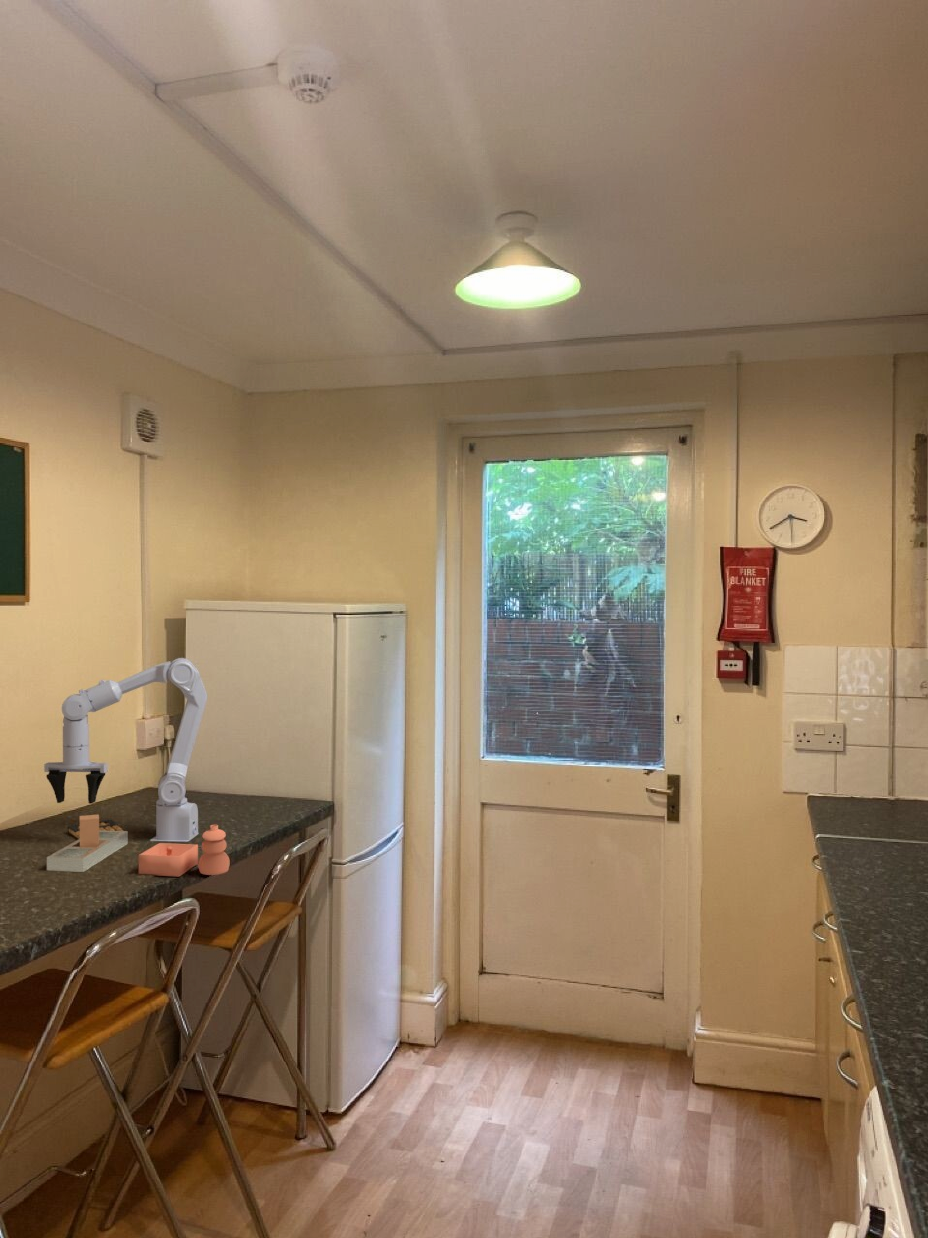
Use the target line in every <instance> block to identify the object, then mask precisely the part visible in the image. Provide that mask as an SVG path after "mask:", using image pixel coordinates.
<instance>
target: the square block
mask: <svg viewBox="0 0 928 1238" xmlns="http://www.w3.org/2000/svg"><path fill="white" fill-rule="evenodd" d="M99 821H100V815H99V814H90V815H88V814H87V815H79V825H80V847H97V846H99Z"/></svg>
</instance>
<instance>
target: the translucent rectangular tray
mask: <svg viewBox="0 0 928 1238" xmlns="http://www.w3.org/2000/svg"><path fill="white" fill-rule="evenodd" d="M128 833H129V832H128V831H127V830H123V831H99V846H97V847H80V839H77V840H75V841H73V842H72V843H70V844H68V845H66V846H64V847H62V848H60V849H59V850H57V851H56V852H53V853H52V854H50V855H48V856H46V871H47V872H49V871H51V872H68V873H69V872H72V873H73V872H74V873H75V872H76V873H83V872H86V871H87V870H89V869H90V868H92V867H93V866H95V865H96V864H98V863H100V862H101V861H103V860H105V859H106V858H107V857H109V856H110V855H113V854H114V853H116V852H117V851H119V850H120V849H122V848H123V847H125V846H126V845H128V843H129V842H128V841H129V839H128Z"/></svg>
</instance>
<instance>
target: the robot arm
mask: <svg viewBox="0 0 928 1238" xmlns="http://www.w3.org/2000/svg"><path fill="white" fill-rule="evenodd" d="M201 676H202V675H200V672H199V670H198V668H197V667H196V666H195V665H194V664H193V662H192V661H191V660H189V659H188V658H185V657H178V658H176V659H174V660H172V661H170V660H169V661H166V662H165V661H164V662H162V663H158V664H156V665H153V666H150V667H148V668H146V669H144V670H141V671H139V672H138V673H136V674H135V673H134V674H133V675H131V676H128V677H126V678H124V679H122V680H119V681H114V680H112V679H108V680H105V679H101V680H99V681H98V684H96V685H93V686H91V687H88V688H86V689H84V688H81V689H79V690H78V692H79V693H73V694H71V695H69V696H67V697H66V698H65V700H64V701H63V703H62V705H61V712H62V715H63V719H62V724H63V726H62V761H59V762H58V761H56V762H47V763H44V765H43V766H44V768H43V770H44V773H47V774H46V779H47V781H48V782H49V783H50V785H51V788H52V789H53V793H54V795H55V800H56V803H57V804H61V803H63V802H65V795H66V794H65V791H66V790H65V785H66V777H67V773H69V772H70V773H88V774H85V779H86V784H87V802H88V804H89V805H90V804H94V803H96V799H97V796H98V792H99V788H100V787H101V783H102V781H103V780H104V777H105V776H106V773H107V772H108V769H109V768H108V767H109V766H108V765H109V764H108V763H107V762H106V763H104V762H92V761H90V726H89V717H88V716H89V715H88V714H89V712H90V713H96V712H97V711H100V710H102V709H105V708H107V707H110V706H112V705H115V704H116V703H117V704H118V703H119V702H120V701H121V698H122V697H123V695H124V694H127V693H129V692H131V691H132V692H133V691H134V690H138V689H140V688H142V687H144V686H147V685H150V684H153V683H162V684H163V683H165V684H168V680H169V681H170V682H171V683H172V684H173V685H174V686H176V687H177V688H178V689H180V691H181V692H182V694H183V696H184V697H185V699H186V702H185V706H184V709H183V713H182V716H181V720H180V723H179V727H178V730H177V734H176V737H175V741H174V744H173V748H172V751H171V755H170V757H169V761H168V764H167V767H166V770H165V772H164V773H163V775H162V776H161V777H160V778H159V780H158V784H157V785H158V786H157V787H158V791H157V797H158V799H157V800H156V802H155V803H156V805H155V807H156V808H155V809H156V810H155V811H156V812H155V815H156V817H155V819H156V821H155V823H156V824H155V826H156V827H155V828H156V829H155V830H156V831H155V833H156V835H155V836H154V837H152V838H151V839H149V841H150V842H178V843H179V842H180V843H181V842H182V843H183V842H185V843H186V842H190V841H191V840H192V839H194V838H195V837H196V836H198V835H199V834H200V832H199V809H198V804H196V803H195V802H194V803H193V802H188V798H187V797H185V795H186V786H185V785H186V783H185V782H186V777H187V773H188V772H187V771H188V768H189V767H188V766H189V765H190V760H191V757H192V753H193V750H194V747H195V743H196V740H197V736H198V733H199V729H200V725H201V722H202V718H203V715H204V712H205V708H206V704H207V701H208V693H207V690H206V688H205V685H204V682H203V679H202V677H201Z"/></svg>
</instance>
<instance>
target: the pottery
mask: <svg viewBox="0 0 928 1238" xmlns="http://www.w3.org/2000/svg"><path fill="white" fill-rule="evenodd" d="M209 828H210V829H207V830H206V831H205V832H203V833H202V839H203V841H202V843H201V850H202V852H204V853H203V854H201V856H200V858H199V844H193V843H192V844H191V843H190V844H189V843H170V842H169V843H167V842H159V843H156V844H155V845H153V846H151V847H150V848H148V849H146V850H144V851H143V852H142V853H139V854H138V875H154V876H160V877H162V876H163V877H181V876H182V875H184V874H185V873H186V872H188V871H189V870H191V869H192V868H193V867H195V866H198V869H199V873H200V874H202V875H206V876H217V875H223V874H225V873H227V872H229V867H230V864H231V863H230V862H231V860H230V857H229V855H228V854H227V853H226V852H225V850H226V849H227V845H228V844H227V841H226V840H225V837H226V836H227V834H226V832H225V831H224V830H223V829H219V825H218V824H211V825H210V826H209Z"/></svg>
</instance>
